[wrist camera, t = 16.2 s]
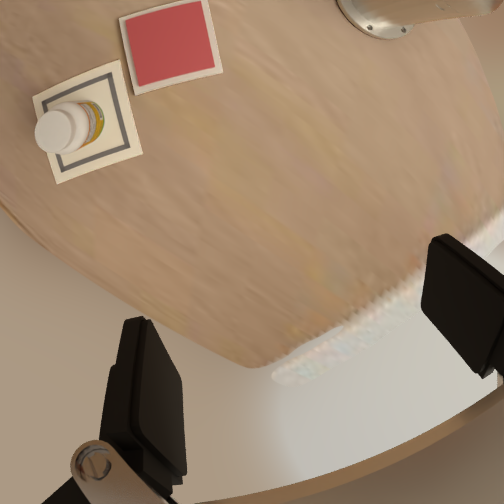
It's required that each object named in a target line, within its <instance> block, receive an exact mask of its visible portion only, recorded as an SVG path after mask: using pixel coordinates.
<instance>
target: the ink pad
mask: <svg viewBox="0 0 504 504" xmlns="http://www.w3.org/2000/svg"><path fill="white" fill-rule="evenodd" d="M119 22H120V28H121V33H122V38H123V43H124V48H125V53H126V57H127V62H128V67H129V71H130V76H131V80H132V84H133V89H134V93H135V95H136V96H137V95H140V94H144V93H147V92H150V91H153V90H157V89H160V88H164V87H168V86H171V85H175V84H179V83H183V82H187V81H191V80H195V79H199V78H204V77H208V76H213V75H218V74H222V73H223V69H222V64H221V60H220V55H219V50H218V46H217V41H216V36H215V32H214V27H213V23H212V18H211V13H210V9H209V4H208V0H182V1H178V2H174V3H170V4H165V5H162V6H158V7H154V8H150V9H147V10H143V11H140V12H137V13H134V14H130V15H127V16H124V17H121V18H119Z"/></svg>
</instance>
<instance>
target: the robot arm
mask: <svg viewBox="0 0 504 504" xmlns="http://www.w3.org/2000/svg"><path fill="white" fill-rule="evenodd" d="M337 2H338V5H339V7H340V8H341V10H342V12H343V13H344V15H345V16H346V17H347V18H348V20H349V21H350V22H351V23H352V24H353V25H354V26H355V27H357V28H358V29H360V30H361V31H362V32H364V33H366V34H368V35H370V36H372V37H375V38H378V39H384V40H391V39H397V38H401V37H403V36H405V35H407V34H408V33H409V32H410V31H411V30H412V29H413V27H414V25H415V24H418V23H424V22H430V21H437V20H444V19H452V18H461V17H471V16H481V15H486V14H489V13H492V12H493V11H495V10H496V9H497V8H498V7H499V6H500V5H501V4H502V2H503V0H337ZM421 309H422V311H423V313H424V314H425V315H426V316H427V317H428V318H429V320H430V321H431V322H432V323H433V324H434V325H435V326H436V328H437V329H438V330H439V331H440V332H441V333H442V335H443V336H444V337H445V338H446V339H447V340H448V341H449V343H450V344H451V345H452V346H453V348H454V349H455V350H456V351H457V352H458V354H459V355H460V356H461V357H462V358H463V360H464V361H465V362H466V363H467V365H468V366H469V367H470V368H471V370H472V371H473V372H474V373H478V374H479V376H480V377H481V378H482V379H484V378H485V377H487V376H488V375H490V374H491V373H493V371H494V369H496V370H497V372H498V373H497V377H498V378H497V381H498V382H497V383H498V384H497V389H496V390H494V391H493V392H491V393H490V394H488V395H487V396H485V397H484V398H482V399H481V400H479V401H478V402H476V403H475V404H473V405H472V406H470V407H469V408H467V409H465V410H464V411H462V412H460V413H459V414H457V415H455V416H454V417H452V418H450V419H449V420H447V421H445V422H443V423H441V424H440V425H438V426H436V427H434V428H432V429H430V430H429V431H427V432H425V433H423V434H421V435H419V436H417V437H415V438H413V439H411V440H409V441H407V442H405V443H403V444H401V445H398V446H396V447H394V448H392V449H390V450H387V451H385V452H383V453H381V454H378V455H376V456H374V457H371V458H368V459H366V460H363V461H361V462H359V463H356V464H353V465H351V466H348V467H345V468H342V469H339V470H337V471H334V472H331V473H328V474H325V475H322V476H318V477H315V478H312V479H309V480H305V481H302V482H298V483H295V484H291V485H287V486H283V487H279V488H275V489H271V490H266V491H262V492H258V493H253V494H248V495H244V496H238V497H233V498H227V499H222V500H215V501H208V502H202V503H196V504H504V275H503V274H501V273H500V272H499V271H498V270H496V269H495V268H494V267H493V266H491V265H490V264H489V263H487V262H486V261H485V260H484V259H482V258H481V257H480V256H478V255H477V254H476V253H474V252H473V251H472V250H470V249H469V248H467V247H466V246H465V245H463V244H462V243H461V242H459V241H458V240H456V239H455V238H454V237H452V236H451V235H449V234H442V235H439V236H436V237H434V238H432V240H431V243H430V244H429V247H428V255H427V264H426V272H425V279H424V286H423V292H422V299H421ZM70 467H71V473H72V475H73V476H72V477H71V478H70V479H69V480H68V481H67V482H65V483H64V484H63V485H62V486H61V487H60V488H59V489H58V490H57V491H55V492H54V493H53V494H52V495H51V496H50V497H49V498H47V499H46V500H45V501H44V502H43V503H42V504H180V503H179V502H177V501H176V500H175V499H174V498H173V497H172V496H171V494H172V493H173V489H172V485H181V484H183V480H182V476H185V475H186V474H187V462H186V449H185V434H184V418H183V393H182V381H181V377H180V375H179V373H178V371H177V369H176V367H175V366H174V364H173V362H172V360H171V358H170V356H169V354H168V352H167V350H166V349H165V347H164V345H163V343H162V341H161V339H160V337H159V335H158V333H157V331H156V329H155V327H154V325H153V323H152V321H151V320H150V319H148V320H146V319H145V318H144V317H143V316H140V317H135V318H131V319H126V320H125V321H124V324H123V329H122V334H121V339H120V344H119V349H118V354H117V359H116V364H115V365H113V366H112V367H111V369H110V372H109V377H108V383H107V388H106V394H105V400H104V407H103V413H102V420H101V427H100V435H99V440H92V441H88V442H86V443H84V444H82V445H81V446H80V447H79V448H78V449H77V450H76V451H75V453H74V454H73V456H72V459H71V464H70Z"/></svg>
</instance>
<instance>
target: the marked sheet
mask: <svg viewBox="0 0 504 504" xmlns="http://www.w3.org/2000/svg"><path fill="white" fill-rule="evenodd" d="M32 99H33V103H34V107H35V112H36V116H37V120H39V119H40V117H41V116H42V115H44V114H45V113H46V112H48V111H49V110H50V109H51V108H52V107H53V106H55V105H56V104H59V103H62V102H68V101H80V100H89V101H93V102H95V103H97V104H98V105H99V106H100V107H101V109H102V110H103V113H104V117H105V125H104V128H103V131H102V133H101V134H100V136H99V137H98V138H97V139H96V140H95V141H93V142H92V143H90V144H88V145H86V146H84V147H82V148H80V149H78V150H76V151H74V152H72V153H70V154H65V155H60V154H56V153H48V152H47V155H48V159H49V162H50V165H51V168H52V171H53V174H54V177H55V180H56V183H57V184H59V183H62V182H64V181H67V180H69V179H72V178H75V177H77V176H80V175H83V174H85V173H88V172H91V171H93V170H96V169H99V168H102V167H105V166H108V165H111V164H114V163H117V162H120V161H123V160H126V159H129V158H132V157H135V156H138V155H142V154H143V151H142V148H141V144H140V140H139V136H138V133H137V129H136V125H135V121H134V117H133V113H132V109H131V105H130V101H129V97H128V93H127V89H126V84H125V80H124V76H123V71H122V66H121V62H120V59H119V60H116V61H113V62H111V63H108V64H105V65H102V66H100V67H97V68H95V69H92V70H90V71H87V72H85V73H82V74H80V75H78V76H75V77H73V78H71V79H68V80H66V81H64V82H62V83H59V84H57V85H55V86H53V87H51V88H49V89H47V90H45V91H43V92H41V93H39V94H37V95H35V96H33V97H32Z"/></svg>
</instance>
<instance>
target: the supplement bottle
mask: <svg viewBox="0 0 504 504" xmlns="http://www.w3.org/2000/svg"><path fill="white" fill-rule="evenodd" d="M104 125H105V117H104V113H103V110H102V109H101V107H100V106H99V105H98V104H97V103H95V102H93V101H89V100H80V101H68V102H62V103H59V104H56V105H55V106H53V107H52V108H51V109H50V110H49V111H48V112H46V113H45V114H44V115H42V116H41V117H40V119H39V120H38V122H37V124H36V127H35V139H36V142H37V144H38V146H39V147H40V148H41V149H42V150H43V151H45V152H48V153H56V154H60V155H65V154H70V153H72V152H74V151H76V150H78V149H80V148H82V147H84V146H86V145H88V144H90V143H92V142H93V141H95V140H96V139H97V138H98V137H99V136H100V134H101V133H102V131H103V128H104Z"/></svg>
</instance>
